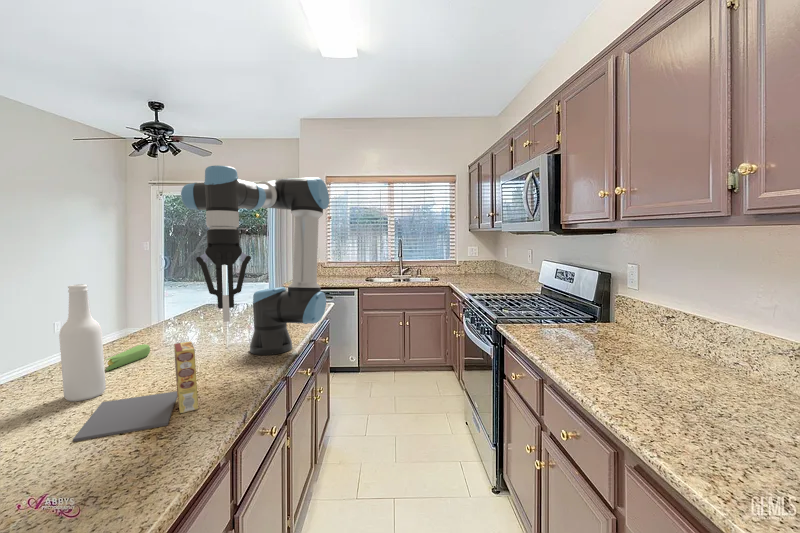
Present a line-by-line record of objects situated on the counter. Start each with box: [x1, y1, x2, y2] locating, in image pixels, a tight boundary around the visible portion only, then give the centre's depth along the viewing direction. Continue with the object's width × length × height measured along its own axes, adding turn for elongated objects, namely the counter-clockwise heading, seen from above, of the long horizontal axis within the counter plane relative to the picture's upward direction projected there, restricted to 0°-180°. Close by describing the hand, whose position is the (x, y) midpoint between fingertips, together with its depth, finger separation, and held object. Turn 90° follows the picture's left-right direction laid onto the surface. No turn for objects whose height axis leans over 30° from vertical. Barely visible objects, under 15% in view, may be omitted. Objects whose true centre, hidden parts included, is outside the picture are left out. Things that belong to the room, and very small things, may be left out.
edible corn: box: [105, 343, 151, 372], centre depth 132 cm, size 5×20×5 cm
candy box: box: [173, 341, 199, 414], centre depth 97 cm, size 9×4×15 cm, turn 33°
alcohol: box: [58, 283, 107, 402], centre depth 103 cm, size 9×9×30 cm
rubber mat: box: [72, 390, 178, 442], centre depth 93 cm, size 17×20×1 cm
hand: (226, 320), depth 100 cm, fingers closed
